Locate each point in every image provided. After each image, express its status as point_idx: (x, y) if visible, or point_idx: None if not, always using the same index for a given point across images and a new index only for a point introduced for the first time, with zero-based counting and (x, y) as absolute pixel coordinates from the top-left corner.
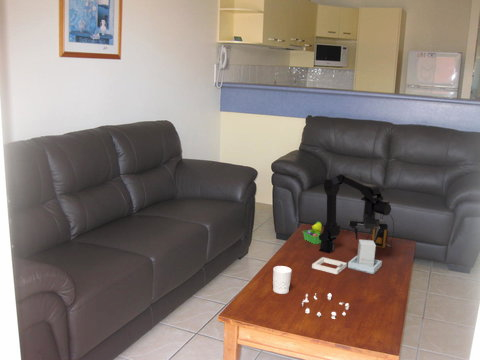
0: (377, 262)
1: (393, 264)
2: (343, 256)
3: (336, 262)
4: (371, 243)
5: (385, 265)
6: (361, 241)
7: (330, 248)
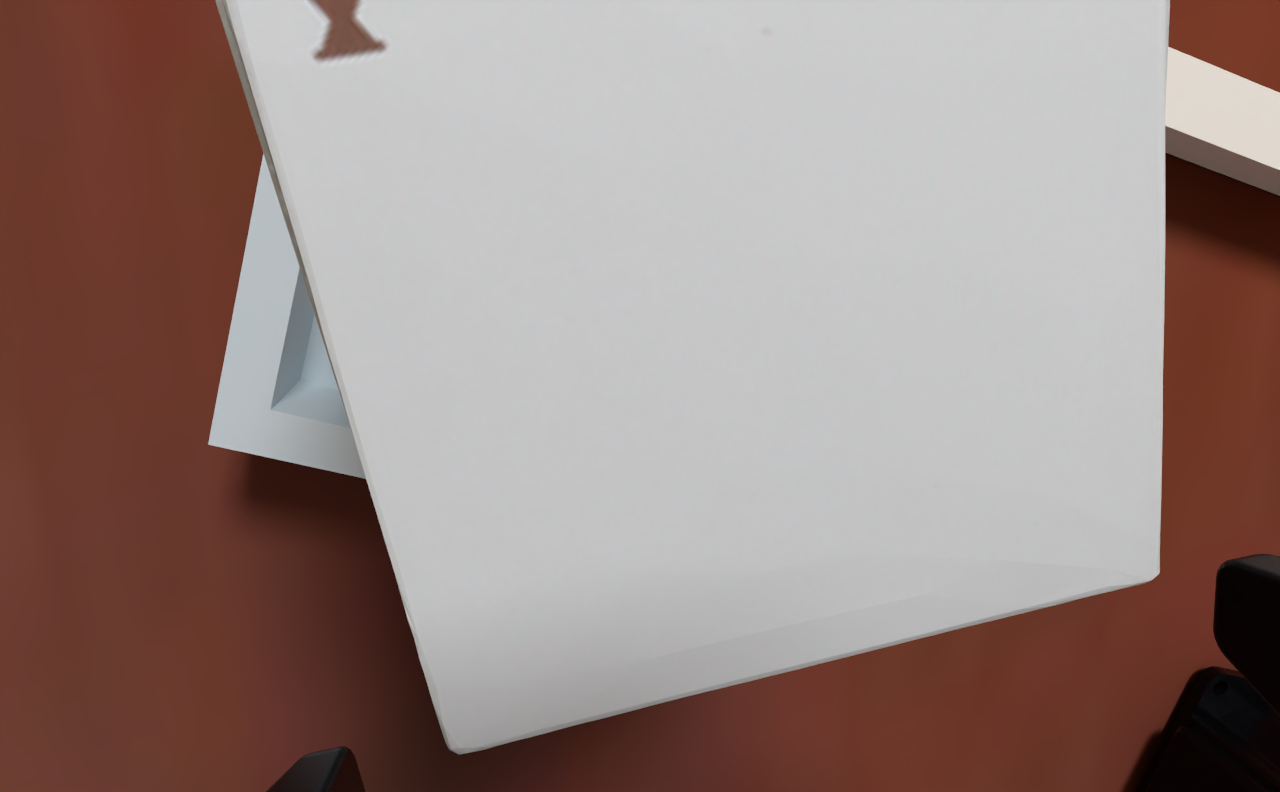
0: (327, 405)
1: (21, 646)
2: (985, 628)
3: (1206, 71)
4: (504, 87)
5: (178, 513)
6: (1094, 262)
7: (1250, 753)
